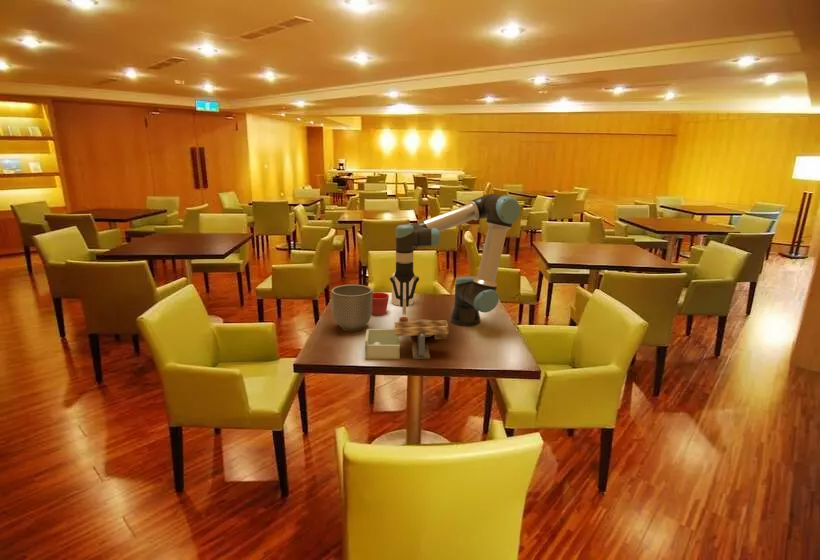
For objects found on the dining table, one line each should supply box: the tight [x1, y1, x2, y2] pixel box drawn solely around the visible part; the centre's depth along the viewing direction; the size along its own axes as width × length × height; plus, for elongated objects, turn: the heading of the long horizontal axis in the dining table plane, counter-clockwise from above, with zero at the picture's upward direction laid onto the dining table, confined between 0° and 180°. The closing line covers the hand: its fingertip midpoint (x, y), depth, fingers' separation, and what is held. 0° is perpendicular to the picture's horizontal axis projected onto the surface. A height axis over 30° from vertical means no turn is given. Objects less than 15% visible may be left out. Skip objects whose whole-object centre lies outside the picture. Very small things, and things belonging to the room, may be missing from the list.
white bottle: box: [391, 269, 415, 306], centre depth 253 cm, size 12×12×20 cm
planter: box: [330, 284, 374, 333], centre depth 214 cm, size 20×20×19 cm
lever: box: [394, 316, 449, 340], centre depth 194 cm, size 22×18×6 cm
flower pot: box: [371, 292, 390, 316], centre depth 237 cm, size 11×11×10 cm
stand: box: [411, 332, 431, 360], centre depth 190 cm, size 7×12×11 cm, turn 2°
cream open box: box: [364, 328, 401, 360], centre depth 189 cm, size 14×13×8 cm
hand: (404, 313), depth 199 cm, fingers closed
